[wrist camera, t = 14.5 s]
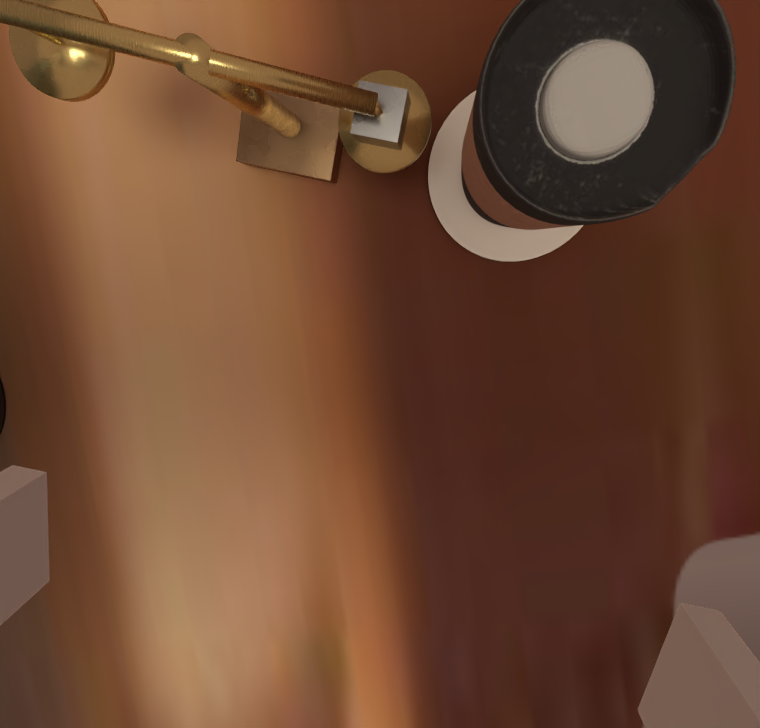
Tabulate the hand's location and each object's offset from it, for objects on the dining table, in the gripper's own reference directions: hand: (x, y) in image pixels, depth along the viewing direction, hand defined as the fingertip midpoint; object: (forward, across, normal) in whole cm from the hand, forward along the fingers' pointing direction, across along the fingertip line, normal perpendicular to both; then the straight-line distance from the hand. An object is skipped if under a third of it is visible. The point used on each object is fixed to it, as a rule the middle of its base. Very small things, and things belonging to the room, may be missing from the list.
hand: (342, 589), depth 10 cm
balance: (+30, -11, +13) cm, 34 cm away
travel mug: (+29, +5, +12) cm, 31 cm away
